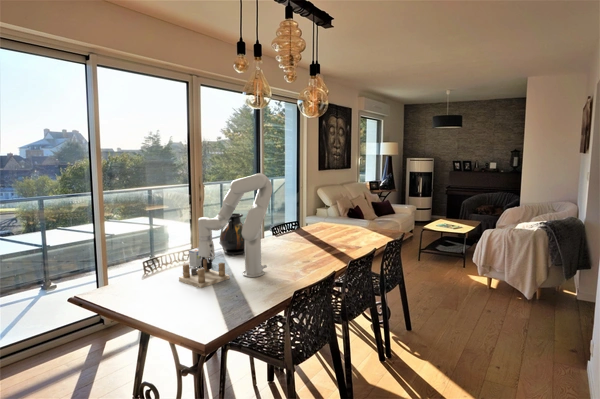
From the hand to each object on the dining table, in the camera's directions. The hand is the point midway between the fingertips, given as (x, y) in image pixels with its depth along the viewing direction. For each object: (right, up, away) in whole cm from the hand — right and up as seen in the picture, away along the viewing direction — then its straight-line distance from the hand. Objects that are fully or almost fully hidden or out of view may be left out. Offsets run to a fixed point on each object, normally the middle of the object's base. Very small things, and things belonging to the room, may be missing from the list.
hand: (206, 267), depth 229 cm
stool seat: (+1, -5, -9) cm, 11 cm away
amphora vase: (+9, +2, +50) cm, 51 cm away
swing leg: (-3, -2, -3) cm, 5 cm away
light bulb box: (-10, -2, +20) cm, 22 cm away
